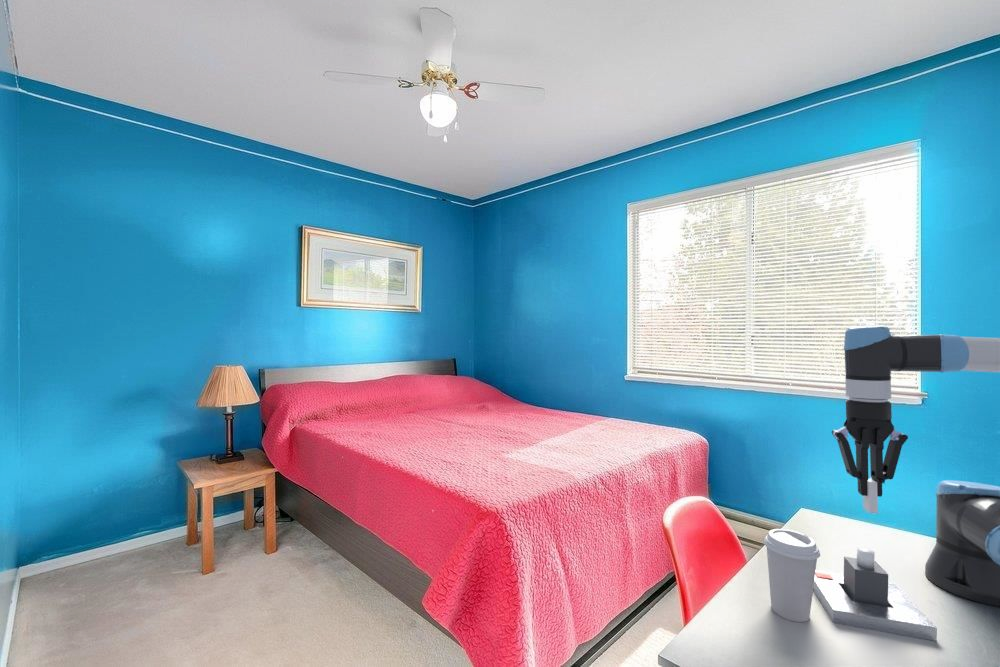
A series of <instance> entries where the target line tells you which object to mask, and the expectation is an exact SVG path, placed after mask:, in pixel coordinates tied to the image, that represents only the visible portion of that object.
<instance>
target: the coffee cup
mask: <svg viewBox="0 0 1000 667" xmlns="http://www.w3.org/2000/svg"><path fill="white" fill-rule="evenodd" d="M763 545H765V547H766V556H767V568H768V579H769V580H768V581H769V583H768V584H769V593H770V594H769V595H770V607H771V610H772V611H773V613H775V614H776V615H777V616H780V617H781V618H783V619H785V620H789V621H791V622H796V623H804V622H808V621H809V620H810V618H811V610H812V609H811V608H812V601H813V594H814V593H813V592H814V591H813V586H814V578H815V570H817V568H816V567H817V561H818V559H819V558H820V557H821V550H820V548H819V546H818V545H817V544H816V541H815V540H814V538H812V537H810V536H809V535H807V534H805V533H802V532H799V531H796V530H792V529H786V528H774V529H770V530H769V531H768V533H767V535H766V536H765V537H764V540H763Z"/></svg>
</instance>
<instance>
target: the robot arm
mask: <svg viewBox="0 0 1000 667" xmlns="http://www.w3.org/2000/svg"><path fill="white" fill-rule="evenodd" d="M843 352H844V366H845V370H844V372H845V381H844V382H845V396H846V397H847V399H846V400H845V417H846V418H845V421H844V423H843V426H842V427H840V428H838V429H832V431H831V434H832V435H833V437H834V438H835V440H836V441H837V445H838V447H839V450H840V451H839V452H840V454H841V457H842V461H843V464H844V467H845V470H846V473H847V474H849V475H850V476H852V478H856V479H857V493H858V494H859V495H861V496H862V508H863V509H864V510H865V511H866V512H867V513H869V514H878V513H879V512H878V511H879V510H878V509H879V508H878V505H879V503H878V501H879V500H878V497H880V498H881V497H882V495H883V484H885V482H886V480H893V479H894V476H895V473H896V470H897V466H898V463H899V460H900V459H899V458H900V455H901V451H902V448H903V445H904V444H905V443H906V442H907V440H908V439H909V436H908V434H905V433H903V432H900V431H898V430H896V429H895V426H894V424H893V423H892V416H893V415H892V413H893V412H892V411H893V410H892V403H891V402H890V401H889V400H890V399H892V375H891V374H892V372H916V373H917V372H920V373H922V372H926V373H927V372H928V373H930V372H932V373H936V372H937V373H941V374H943V373H947V372H953V373H954V372H960V371H962V372H963V371H965V372H978V373H979V372H981V373H983V372H984V373H1000V337H981V336H978V337H975V336H960V335H957V334H942V333H939V334H895V333H894V334H892V333H891V331H890V328H889V327H888V326H851V327H848V328H847V329H846V330H845V333H844V346H843ZM848 434H849V435H850V436H851V437H852V439H853V440H854V445H855V459H854V456H853V453H852V449H851V446H850V445H851V444H850V442H849V440H848V438H849V435H848ZM887 439H889V441H888V444H887V448H886V451H885V455H884V453H883V451H884V449H885V446H884V444H885V443H884V442H885V441H886V440H887ZM869 461H870V466H869ZM869 467H870V478H869ZM936 489H937V490H936V494H935V496H936V525H935V526H936V528H935V529H936V532H935V533H936V537H935V538H936V540H935V541H936V542H935V545H934V546H933V549H932V551H931V552H930V555H929V556H928V558H927V561H926V562H925V567H924V575H925V577H926V578H927V579H928V581H930V583H932V584H934V585H936V586H937V587H939V588H940V589H943V590H945V591H947V592H949V593H951V594H953V595H955V596H959V597H961V598H965V599H967V600H971V601H973V602H976V603H980V604H985V605H990V606H994V607H995V606H996V607H1000V486H998V485H992V484H987V483H980V482H973V481H967V480H966V481H963V480H952V479H945V480H941V481H940V482H938V484H937V488H936Z"/></svg>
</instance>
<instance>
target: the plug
mask: <svg viewBox="0 0 1000 667" xmlns="http://www.w3.org/2000/svg"><path fill="white" fill-rule="evenodd" d="M843 574H844V589H843V590H844V592H845V593H846V594H847V596H848V597H849V598H850V600H851V601H854V602H860V603H866V604H872V605H877V606H883V607H888V581H889V574H888V573H887V571H886V570H885V569H884V568H883V567H882V566H881V565H880V564H879V563H878V562H877V561H876V560H875V551H874V550H872V549H870V548H866V547H861V546H860V547H857V548H856V557H849V556H844V557H843Z"/></svg>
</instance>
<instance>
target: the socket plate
mask: <svg viewBox="0 0 1000 667" xmlns="http://www.w3.org/2000/svg"><path fill="white" fill-rule="evenodd" d="M843 589H844V573H836V572H831V571H824V570H817V569H816V570H815V578H814V586H813V592H814V594H815V595H816V597H817V599H818V600H819V602H820V603H821V605H822V607H823V609H824V611H825V612H826V613H827V616H829V618H830V620H831V621H832V623H834V624H835V623H836V624H841V625H846V626H851V627H855V628H856V627H857V628H863V629H867V630H872V631H873V630H874V631H879V632H883V633H888V634H889V633H890V634H894V635H895V634H896V635H901V636H906V637H912V638H917V639H922V640H927V641H933V642H938V636H937V635H938V627H937V626H936V625H935V624H934V623H933V622H932V621H931V620H930V619H929V618H928V617H927V616H926V614H924V613H923V611H921V609H919V607H918V606H916V605H915V603H914V602H913V601H912V600H911V599H910V598H909V597H908V596H907V594H905V593H904V592H903V591H902V590H901V589H900V587H899V586H897V584H896V583H895V582H893V581H890V580H888V607H883V606H877V605H872V604H866V603H860V602H854V601H851V600H850V598H849V597H848V596H847V594H846V593H845V592H844V590H843Z"/></svg>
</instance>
